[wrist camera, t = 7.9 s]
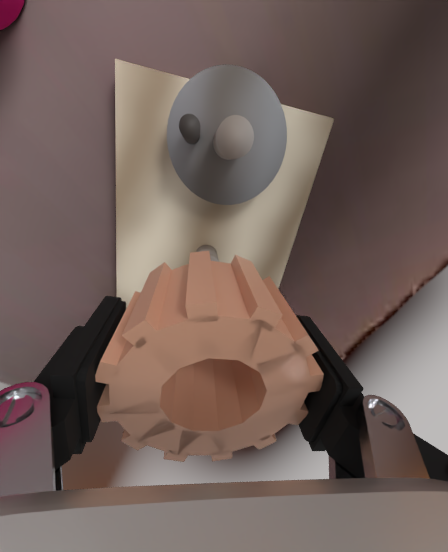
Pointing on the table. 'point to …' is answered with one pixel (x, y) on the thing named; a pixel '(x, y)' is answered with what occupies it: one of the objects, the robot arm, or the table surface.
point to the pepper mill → (9, 11)
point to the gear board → (183, 212)
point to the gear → (207, 362)
